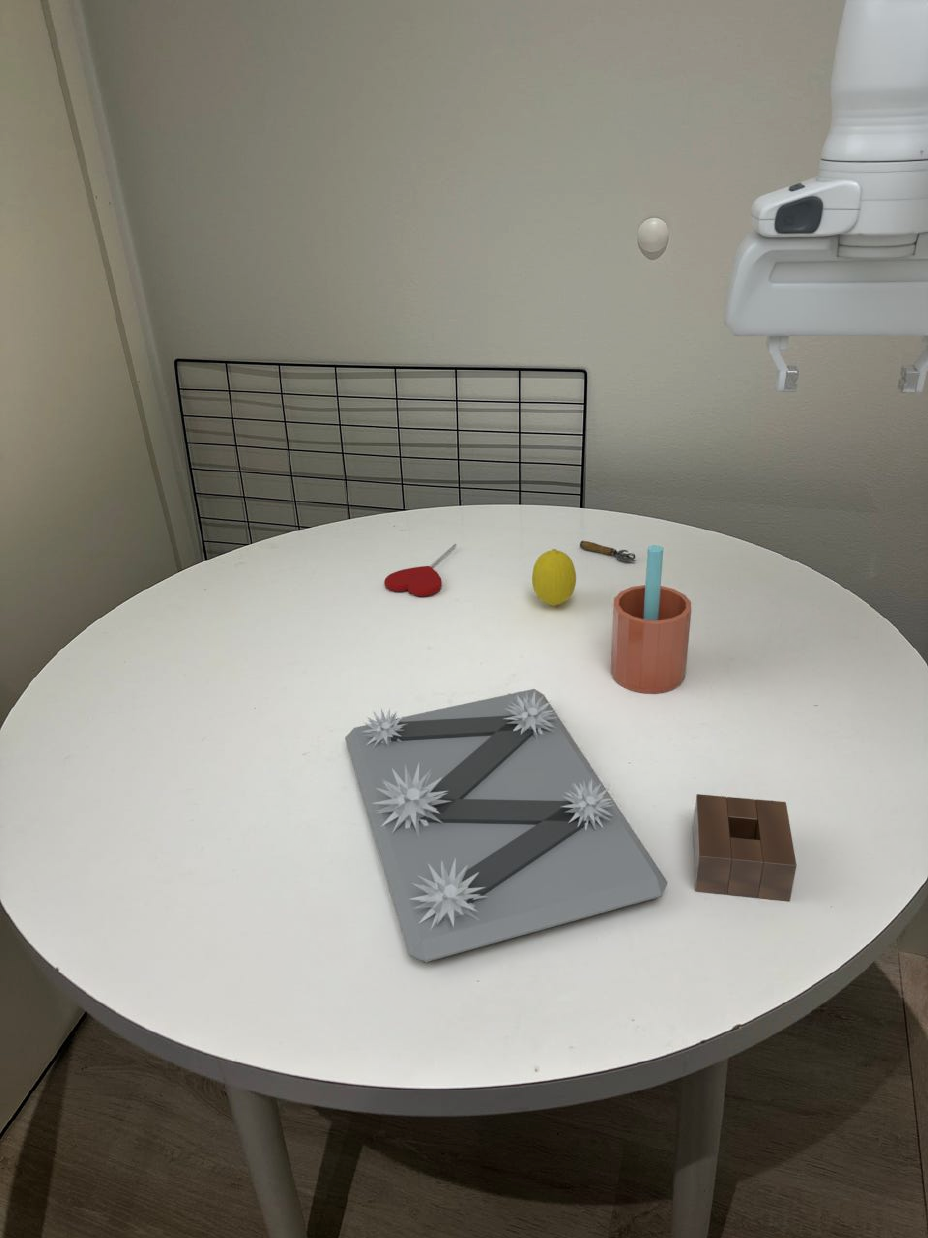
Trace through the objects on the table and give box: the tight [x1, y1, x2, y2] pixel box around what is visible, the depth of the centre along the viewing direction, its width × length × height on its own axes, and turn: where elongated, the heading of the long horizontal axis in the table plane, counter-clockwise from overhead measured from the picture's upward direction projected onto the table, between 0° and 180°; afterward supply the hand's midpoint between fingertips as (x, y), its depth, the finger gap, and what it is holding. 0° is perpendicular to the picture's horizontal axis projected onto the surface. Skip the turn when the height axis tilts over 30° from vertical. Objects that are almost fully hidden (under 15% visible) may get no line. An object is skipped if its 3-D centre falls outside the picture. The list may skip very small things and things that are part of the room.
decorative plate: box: [345, 688, 668, 963], centre depth 80 cm, size 30×22×7 cm
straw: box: [643, 544, 664, 620], centre depth 97 cm, size 2×2×15 cm
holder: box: [692, 793, 798, 902], centre depth 75 cm, size 7×7×4 cm
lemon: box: [531, 548, 577, 607], centre depth 113 cm, size 6×6×8 cm
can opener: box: [579, 540, 637, 563], centre depth 126 cm, size 9×2×1 cm, turn 49°
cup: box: [610, 584, 693, 695], centre depth 98 cm, size 8×8×9 cm
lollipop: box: [383, 543, 457, 597], centre depth 125 cm, size 8×1×15 cm
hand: (846, 390), depth 72 cm, fingers open, 8 cm apart
